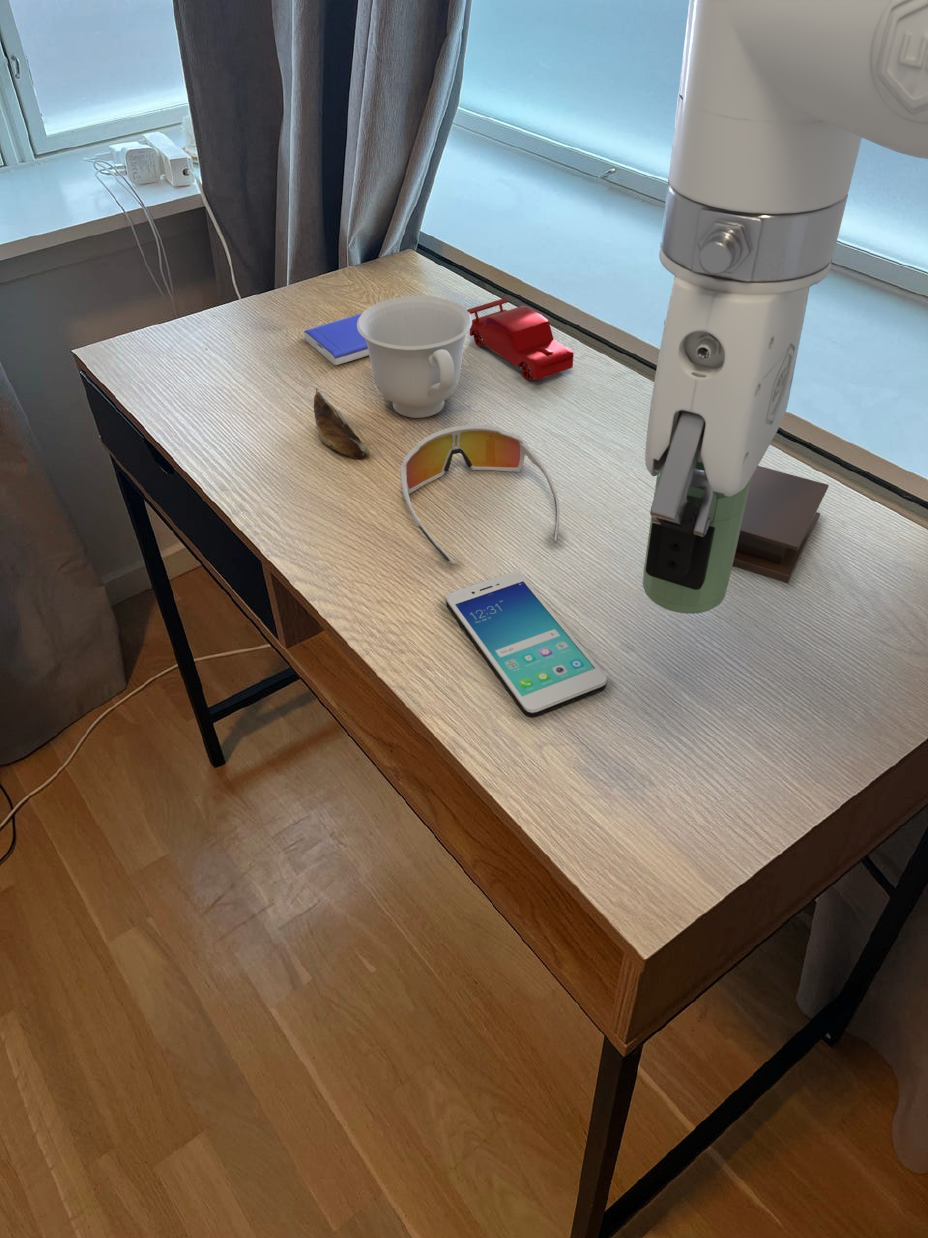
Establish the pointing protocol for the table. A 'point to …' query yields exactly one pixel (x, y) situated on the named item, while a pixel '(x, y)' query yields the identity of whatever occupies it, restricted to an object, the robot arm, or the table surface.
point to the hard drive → (338, 340)
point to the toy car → (521, 340)
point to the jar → (720, 560)
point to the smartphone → (525, 643)
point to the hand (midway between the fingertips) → (691, 548)
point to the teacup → (415, 350)
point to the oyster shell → (336, 429)
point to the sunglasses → (479, 452)
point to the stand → (777, 522)
